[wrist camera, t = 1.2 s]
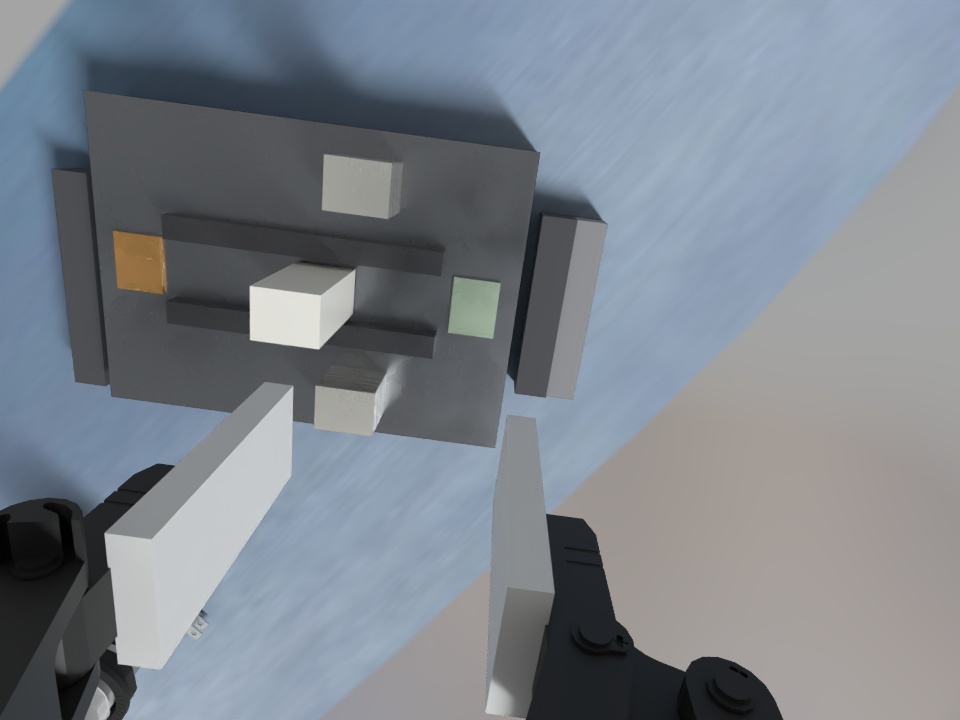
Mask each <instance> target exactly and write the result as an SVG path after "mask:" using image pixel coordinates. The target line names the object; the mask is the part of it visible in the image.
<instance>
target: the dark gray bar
mask: <svg viewBox="0 0 960 720" xmlns="http://www.w3.org/2000/svg"><path fill="white" fill-rule="evenodd" d="M52 178H53V187H54V196H55V205H56V214H57V223H58V232H59V241H60V250H61V259H62V268H63V276H64V285H65V294H66V303H67V312H68V321H69V330H70V339H71V348H72V357H73V366H74V375H75V382H79V383H86V384H94V385H101V386H107V385H109V384H110V376H109V365H108V354H107V343H106V332H105V321H104V310H103V299H102V288H101V277H100V266H99V255H98V243H97V232H96V221H95V210H94V199H93V188H92V177H91V170H85V169H78V168H67V169H52Z"/></svg>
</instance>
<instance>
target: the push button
mask: <svg viewBox="0 0 960 720" xmlns="http://www.w3.org/2000/svg"><path fill="white" fill-rule="evenodd" d="M199 614H200V613H199ZM199 614H198V615H197V617H196V618H195V620H194V621H193V623H194V624H195V625H196V626H197V627H199V628H200V629H201V630H203V629H204V628H206V627H207V626H208V625H209V623H208V622H206V621H205V620H204V619H203V618H202V617H200V616H199ZM198 621H202V622H203V624H202V625H200V624H199V623H198ZM193 623H192V624H193ZM192 624H191V626H190V627H189V629H188V630H187V632H186V633H187V634H189V635H190V636H191V637H192V638H193V639H195V640H196V639H198V638H199V637H201V636H202V635H203V634H202V632H200V631H199V630H198V629H197V628H196V627H194V626H193V625H192ZM191 631H196V633H197V634H195V635H194V634H192V632H191ZM99 661H100V669H101V673H100V680H99V684H98V687H97V689H96V691H95V694H94V696H93V699H92V701H91V704H90V706H89V709H88V711H87V714H86V716H85V719H84V720H122V719H123V717H124V716H125V714H126V713H127V711H128V709H129V705H130V700H131V698H132V697H133V695H134V693H135V691H136V689H137V686H136V681H135V676H134V675H135V673H136V672H137V671H138V669H139V668H140V667H137V666H129V665H122V664H118V660H117V650H116V641H115V640H114V641H113V642H112V643H111V645H110V646H109V647H108V648H107V650H106V651H105V652H104V653H103V654H102V656H101V657H100V658H99Z"/></svg>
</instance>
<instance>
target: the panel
mask: <svg viewBox="0 0 960 720" xmlns="http://www.w3.org/2000/svg"><path fill="white" fill-rule="evenodd" d="M84 100H85V111H86V122H87V133H88V144H89V155H90V166H91V177H92V188H93V199H94V210H95V221H96V232H97V243H98V255H99V266H100V277H101V288H102V299H103V310H104V321H105V332H106V343H107V354H108V365H109V376H110V387H111V397H118V398H126V399H133V400H141V401H148V402H155V403H163V404H170V405H178V406H185V407H193V408H200V409H208V410H215V411H222V412H230V413H232V412H233V411H234V410H236V409H237V408H238V407H239V406H240V405H241V404H242V403H243V402H244V401H245V400H246V399H247V398H248V397H249V396H250V395H251V394H253V393H254V392H255V391H256V390H257V389H258V388H259V387H260V386H261V385H262V384H263V383H264V382H270V383H277V384H285V385H292V386H293V421H297V422H304V423H312V424H314V429H320V430H328V431H335V432H342V433H350V434H357V435H365V436H372V435H373V433H374V432H379V433H386V434H394V435H401V436H409V437H416V438H423V439H431V440H438V441H446V442H453V443H461V444H468V445H475V446H483V447H490V448H495V445H496V439H497V432H498V425H499V419H500V412H501V406H502V399H503V393H504V386H505V380H506V373H507V367H508V360H509V354H510V347H511V341H512V334H513V327H514V321H515V314H516V308H517V301H518V295H519V288H520V282H521V275H522V269H523V262H524V256H525V249H526V243H527V236H528V229H529V223H530V216H531V210H532V203H533V197H534V190H535V184H536V177H537V171H538V164H539V158H540V152H534V151H527V150H520V149H512V148H505V147H497V146H490V145H483V144H475V143H468V142H461V141H453V140H446V139H438V138H431V137H424V136H416V135H409V134H402V133H394V132H387V131H380V130H372V129H365V128H357V127H350V126H343V125H335V124H328V123H321V122H313V121H306V120H298V119H291V118H284V117H276V116H269V115H262V114H254V113H247V112H240V111H232V110H225V109H217V108H210V107H203V106H195V105H188V104H181V103H173V102H166V101H158V100H151V99H144V98H136V97H129V96H122V95H114V94H107V93H100V92H92V91H85V90H84ZM297 261H299V262H307V263H314V264H322V265H329V266H336V267H344V268H351V269H356V271H355V288H354V306H353V314H352V315H351V317H350V318H349V319H348V320H347V321H346V322H345V323H344V324H343V325H342V326H341V327H340V328H339V329H338V330H337V331H336V332H335V333H334V334H333V335H332V336H331V337H330V338H329V339H328V340H327V341H326V343H325V344H324V345H323V346H322V347H321V348H320V349H312V348H305V347H297V346H290V345H282V344H275V343H267V342H260V341H253V340H250V286H251V285H252V284H254V283H256V282H258V281H260V280H262V279H264V278H266V277H268V276H270V275H272V274H274V273H276V272H278V271H280V270H282V269H284V268H286V267H288V266H290V265H292V264H293V263H295V262H297Z"/></svg>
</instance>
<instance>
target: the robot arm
mask: <svg viewBox="0 0 960 720" xmlns="http://www.w3.org/2000/svg"><path fill="white" fill-rule="evenodd" d="M292 422H293V386H292V385H285V384H277V383H270V382H264V383H263V384H262V385H261V386H260V387H259V388H258V389H257V390H256V391H255V392H254V393H253V394H251V395H250V396H249V397H248V398H247V399H246V400H245V401H244V402H243V403H242V404H241V405H240V406H239V407H238V408H237V409H236V410H234V411H233V412H232V413H231V414H230V415H229V416H228V417H227V418H226V419H225V420H224V421H223V422H222V423H221V424H220V425H219V426H218V427H216V428H215V429H214V430H213V431H212V432H211V433H210V434H209V435H208V436H207V437H206V438H205V439H204V440H203V441H202V442H201V443H199V444H198V445H197V446H196V447H195V448H194V449H193V450H192V451H191V452H190V453H189V454H188V455H187V456H186V457H185V458H184V459H182V460H181V461H180V462H179V463H178V464H177V465H176V466H173V465H165V464H156V465H153V466H151V467H149V468H147V469H145V470H143V471H140V472H138V473H136V474H134V475H133V476H132V477H131V478H129V479H128V480H127V481H126V482H125V483H124V484H122V485H121V486H120V487H119V488H118V490H117V491H114V492H113V493H112V494H111V495H110V496H109V497H107V498H106V499H105V500H104V503H100V504H99V505H98V506H97V507H96V508H95V509H93V510H92V511H91V512H90V513H89V514H88V515H86V516H85V517H84V518H83V515H82V510H81V509H80V507H79V506H78V505H77V504H76V503H74V502H71V501H69V500H66V499H56V498H45V499H36V500H29V501H26V502H22V503H18V504H15V505H11V506H9V507H7V508H5V509H3V510H1V511H0V720H84V719H85V716H86V714H87V711H88V709H89V706H90V704H91V701H92V699H93V696H94V694H95V691H96V689H97V687H98V684H99V680H100V673H101V669H100V661H99V658H100V657H101V656H102V654H103V653H104V652H105V651H106V650H107V648H108V647H109V646H110V645H111V643H112V642H113V641H114V640H115V641H116V650H117V660H118V664H122V665H129V666H137V667H144V668H152V669H159V670H161V669H162V668H163V666H164V665H165V663H166V662H167V660H168V659H169V657H170V656H171V654H172V653H173V651H174V650H175V648H176V647H177V645H178V644H179V642H180V641H181V639H182V638H183V636H184V635H185V633H186V632H187V630H188V629H189V627H190V626H191V624H192V623H193V621H194V620H195V618H196V617H197V615H198V614H199V612H200V611H201V609H202V608H203V606H204V605H205V603H206V602H207V600H208V599H209V597H210V596H211V594H212V593H213V591H214V590H215V588H216V587H217V585H218V584H219V582H220V581H221V580H222V578H223V577H224V575H225V574H226V572H227V571H228V569H229V568H230V566H231V565H232V563H233V562H234V560H235V559H236V557H237V556H238V554H239V553H240V551H241V550H242V548H243V547H244V545H245V544H246V542H247V541H248V539H249V538H250V536H251V535H252V533H253V532H254V530H255V529H256V527H257V526H258V524H259V523H260V521H261V520H262V518H263V517H264V515H265V514H266V512H267V511H268V509H269V508H270V506H271V505H272V503H273V502H274V500H275V499H276V497H277V496H278V494H279V493H280V491H281V490H282V488H283V487H284V485H285V484H286V482H287V481H288V479H289V478H290V477H291V466H292ZM599 553H600V551H599V547H598V542H597V538H596V535H595V533H594V532H593V531H592V529H591V528H590V527H589V526H588V525H587V523H586V522H585V521H584V520H583V519H579V518H572V517H564V516H557V515H550V514H546V510H545V501H544V492H543V483H542V474H541V465H540V456H539V447H538V438H537V429H536V420H535V418H529V417H522V416H515V415H507V418H506V424H505V430H504V437H503V443H502V449H501V456H500V462H499V468H498V475H497V481H496V487H495V494H494V500H493V519H492V546H491V573H490V600H489V626H488V654H487V679H486V706H485V713H489V714H497V715H504V716H512V717H519V718H526V720H783V718H782V715H781V713H780V711H779V709H778V706H777V704H776V702H775V700H774V698H773V696H772V695H771V693H770V692H769V690H768V689H767V687H766V686H765V684H763V683H762V682H761V681H760V680H759V679H758V678H757V677H756V676H755V675H754V674H753V673H752V672H750V671H749V670H747V669H745V668H743V667H742V666H740V665H738V664H737V663H735V662H732V661H729V660H725V659H722V658H719V657H701V658H699V659H697V660H694V661H692V662H691V664H690V665H689V667H688V669H687V670H686V672H684V671H682V670H679V669H677V668H674V667H672V666H669V665H667V664H664V663H662V662H659V661H657V660H655V659H653V658H651V657H649V656H647V655H645V654H644V653H642V652H641V651H639V650H638V649H637V648H635V647H634V643H633V639H632V638H631V636H630V635H629V633H628V631H627V630H626V629H625V628H624V627H623V626H622V625H621V624H620V623H619V622H617V621H616V618H615V614H614V610H613V606H612V602H611V597H610V593H609V589H608V585H607V580H606V576H605V572H604V569H603V563H602V559H601V555H600V554H599Z"/></svg>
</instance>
